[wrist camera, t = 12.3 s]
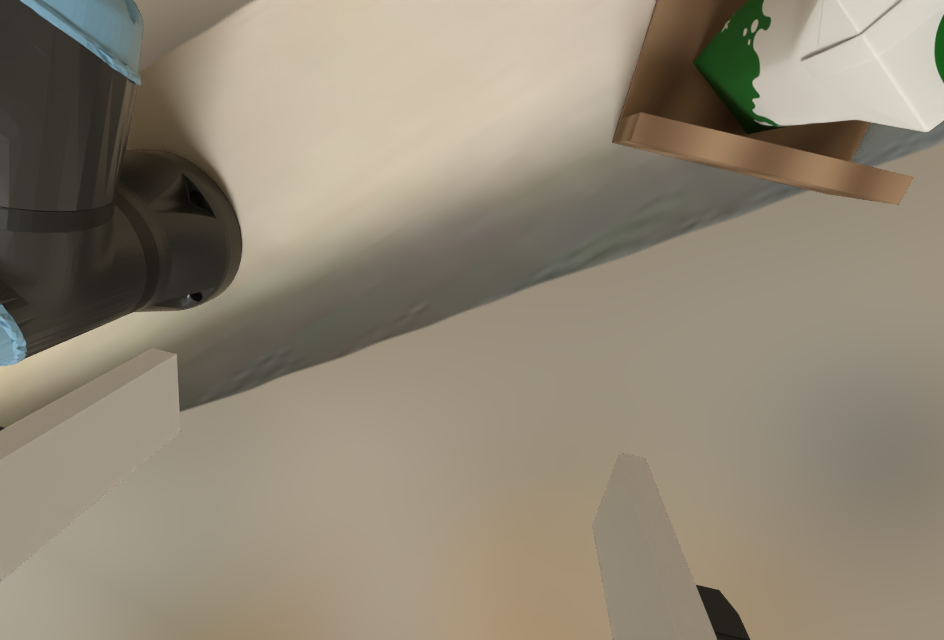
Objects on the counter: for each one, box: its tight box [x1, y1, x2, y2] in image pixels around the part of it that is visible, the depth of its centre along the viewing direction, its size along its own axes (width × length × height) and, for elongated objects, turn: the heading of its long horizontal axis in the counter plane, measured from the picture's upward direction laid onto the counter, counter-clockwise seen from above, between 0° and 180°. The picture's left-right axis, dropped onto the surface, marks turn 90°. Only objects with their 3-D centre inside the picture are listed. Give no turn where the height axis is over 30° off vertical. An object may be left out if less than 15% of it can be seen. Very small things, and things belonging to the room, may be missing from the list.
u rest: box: [612, 0, 914, 205], centre depth 32 cm, size 18×16×8 cm
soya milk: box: [693, 0, 944, 134], centre depth 25 cm, size 9×9×20 cm
